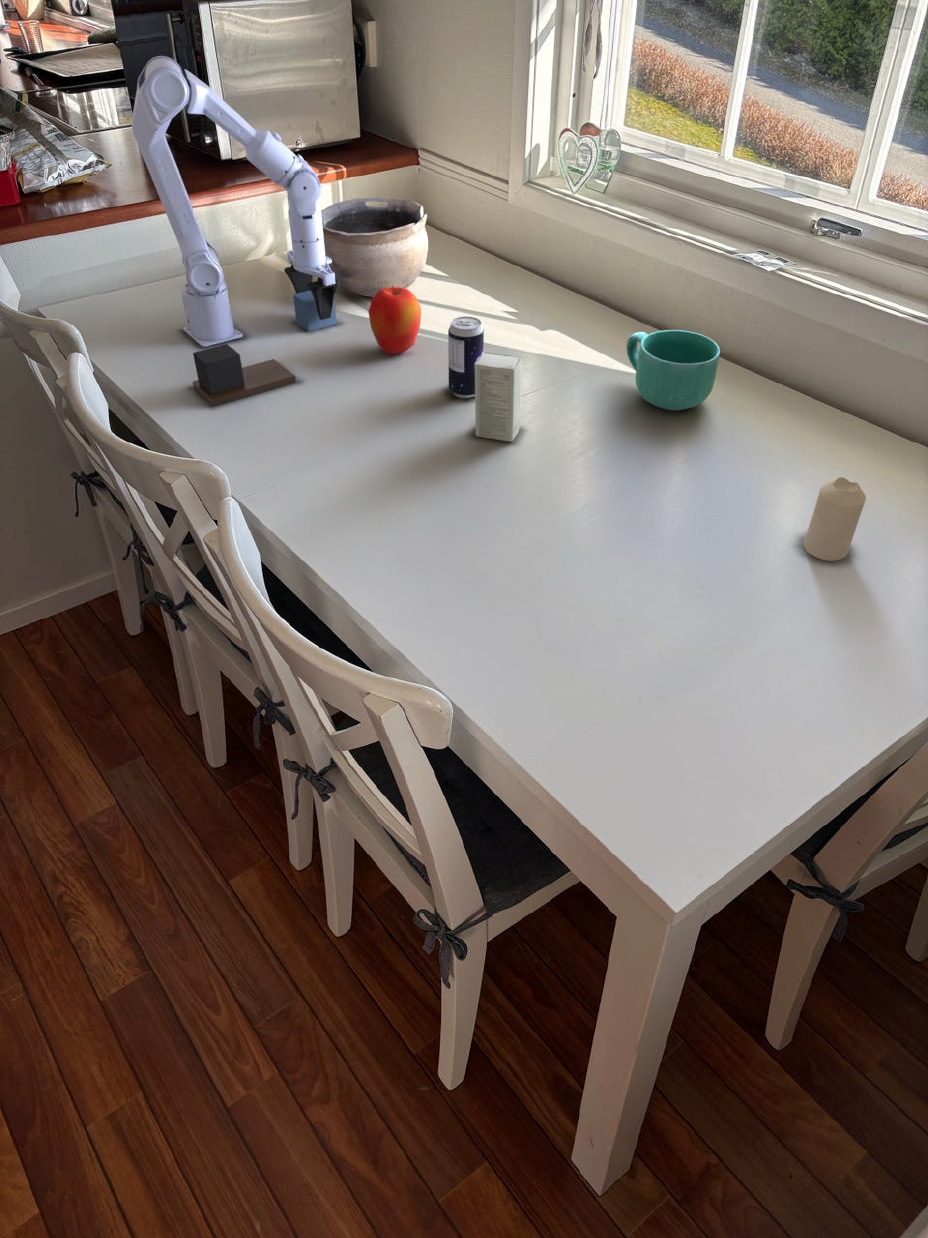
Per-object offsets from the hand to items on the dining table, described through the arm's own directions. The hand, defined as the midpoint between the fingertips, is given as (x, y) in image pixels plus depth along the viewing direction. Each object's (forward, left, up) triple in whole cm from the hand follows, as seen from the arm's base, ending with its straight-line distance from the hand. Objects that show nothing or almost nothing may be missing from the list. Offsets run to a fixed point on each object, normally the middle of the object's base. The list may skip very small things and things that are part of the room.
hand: (315, 311), depth 173 cm
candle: (+102, +20, -3) cm, 104 cm away
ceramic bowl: (-8, +18, -3) cm, 20 cm away
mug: (+59, +33, -3) cm, 68 cm away
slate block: (0, 0, -2) cm, 2 cm away
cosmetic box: (+53, +3, -3) cm, 53 cm away
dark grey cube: (+15, -26, -1) cm, 30 cm away
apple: (+19, +6, -3) cm, 20 cm away
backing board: (+15, -22, -2) cm, 27 cm away
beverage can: (+39, +7, -3) cm, 40 cm away
